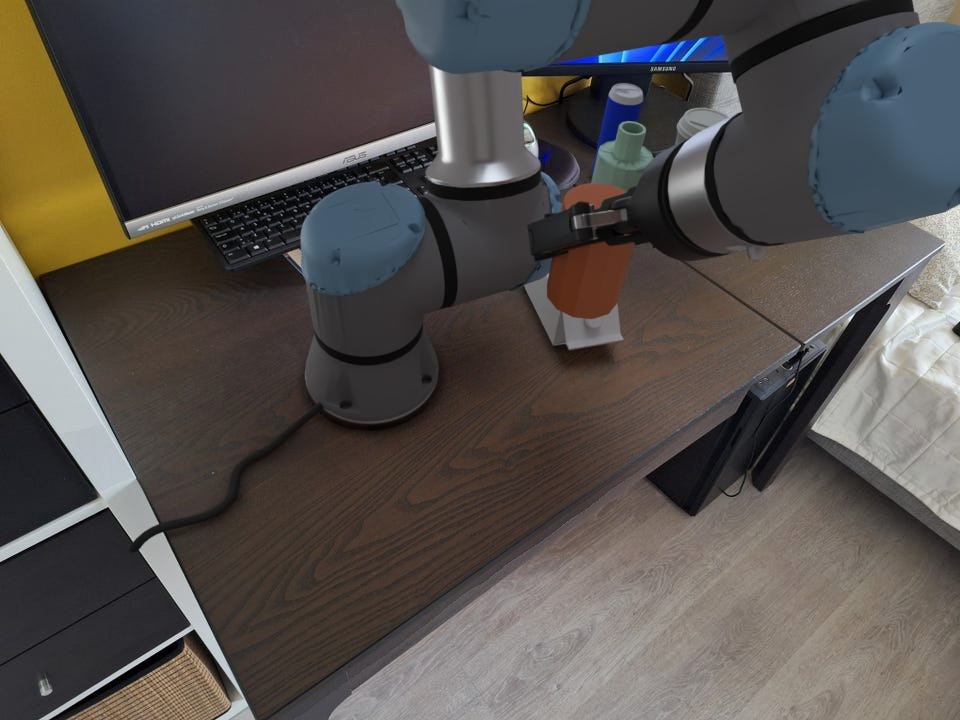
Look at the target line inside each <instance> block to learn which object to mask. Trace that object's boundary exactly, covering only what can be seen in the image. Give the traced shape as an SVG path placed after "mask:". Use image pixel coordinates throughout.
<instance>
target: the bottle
mask: <svg viewBox="0 0 960 720" xmlns="http://www.w3.org/2000/svg"><path fill="white" fill-rule="evenodd" d="M646 133H647V128H646V127H645V126H644V124H642V123H639V122H638V121H637V122H632V121H626V122H622V123H621V124H620V125H619V128H618V132H617V136H616V140H614V141H610V142H606V143H604V144H603V145H601V146H600V148H599V150H598V154H597V159H596V163H595V168H594V172H593V175H592V177H591V181H590V183H601V184H608V185H612V186H616V187H618V188H621V189H623V190H625V191H628V189H630V188H632V187H635V186H637V185H638V182H639V180H640V177H641V175H642V173H643V171H644V170H645V168H646V167H647V165H648V164H649V163H650V162H651V161H652V160H653V159H654V158H655V157H654V156H653V154H652V151H650V150H649V149H648V148H647V147H645V146H644V141H645V137H646Z"/></svg>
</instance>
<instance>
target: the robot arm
mask: <svg viewBox="0 0 960 720" xmlns="http://www.w3.org/2000/svg"><path fill="white" fill-rule="evenodd" d="M394 1H395V5H396V7H397V9H399V12H401V15H402V18H403V21H404V29H405V33H406V36H407V39H408V40H409V41H410V43H411V45H412V47H413V48H414V50H415V51H416V52H417V53H418V55H419V56H420V57H421V58H422V59H423V60H424V61H425V62H426V63H428V72H429V80H430V81H429V82H430V91H431V98H432V107H433V108H432V109H433V117H434V126H435V127H434V128H435V136H436V143H437V144H436V145H437V155H436V156H435V157H434V159H432V161H431V163H430V164H429V165H428V166H427V168H426V169H425V179H426V180H425V181H426V189H427V190H426V191H427V193H426V194H423V195H419V196H416V195H415V194H414V193H413V192H411V190H408V189H407V188H405V187H403V186H402V185H401V186H400V185H397V184H395V183H390V182H389V183H388V184H386V185H382V184H381V182H380V181H367V182H366V181H365V182H360V183H354V184H351V185H347V186H344V187H342V188H339V189H337V190H335V191H333V192H330V193H328V194H327V195H326V196H324V197H323V198H322V199H320V200H319V201H318V202H317V203H316V204H314V206H313V207H312V208H311V210H310V213H309V214H308V215H307V216H306V217H305V218H304V221H303V223H302V226H301V230H300V237H299V238H300V239H299V240H300V255H301V256H300V269H301V273H302V276H303V278H304V280H305V286H306V291H307V298H308V303H309V304H308V305H309V308H310V309H309V310H310V316H311V320H312V328H313V332H314V334H313V337H312V340H311V344H310V348H309V351H308V354H307V358H306V361H305V369H304V380H305V386H306V390H307V393H308V397H309V399H310V401H311V402H312V404H313V407H311V408H309V410H307V411H306V412H305V413H303V415H301V416H300V417H299V418H298V419H296V420H295V421H294V422H292V423H291V424H290V425H289V426H288V427H287V428H286V429H285V430H284V431H282V432H281V433H280V434H279V435H278V436H277V437H275V438H274V439H273V440H272V441H270V442H269V443H268V444H266V445H264V446H263V447H261V448H260V449H257V450H256V451H254V452H252V453H250V454H248V455H246V456H245V457H243V458H242V459H240V461H238V463H237V464H236V465H235V466H234V467H233V470H232V471H231V474H230V478H229V485H228V486H229V487H228V492H227V494H226V496H225V497H224V499H222V501H220V503H218V504H217V505H215V506H213V507H212V508H210V509H208V510H206V511H203V512H200V513H197V514H193V515H188V516H185V517H180V518H176V519H171V520H167V521H164V522H160V523H158V524H155V525H153V526H152V527H149V528H147V529H146V530H144V531H143V532H142V533H141V534H140V535H138V536H137V537H136V538H135V539H134V540H133V541H132V543H131V545H130V546H129V550H128V551H129V552H130V553H132V554H133V553H137V552H138V551H140V549H141V548H142V547H143V546H144V544H146V543H147V541H150V539H151V538H153V537H155V536H157V535H159V534H162V533H165V532H168V531H173V530H177V529H181V528H184V527H190V526H193V525H197V524H201V523H204V522H207V521H209V520H212V519H214V518H216V517H218V516H220V515H221V514H223V513H224V512H225V511H226V510H227V509H229V508H230V507H231V506H232V504H234V502H235V500H236V498H237V495H238V493H239V492H238V491H239V483H240V478H241V475H242V473H243V472H244V470H245V469H246V468H247V467H248V466H249V465H251V464H252V463H254V462H256V461H258V460H260V459H262V458H264V457H266V456H267V455H269V454H271V453H272V452H274V450H276V449H278V448H279V447H280V446H281V445H283V443H285V442H286V441H287V440H289V438H290V437H292V435H294V434H295V433H296V432H297V431H298V430H300V429H301V428H302V427H303V426H305V425H306V424H307V423H309V421H310V420H312V419H313V418H314V417H315V416H316V415H318V414H319V413H321V414H322V415H323V416H325V418H327V419H329V420H331V421H333V422H335V423H337V424H339V425H341V426H343V427H344V426H345V427H348V428H353V429H359V430H380V429H385V428H391V427H395V426H397V425H400V424H403V423H405V422H407V421H409V420H411V419H412V418H414V417H416V416H417V415H418V414H420V413H421V412H422V411H424V410H425V409H426V408H427V406H428V405H429V404H430V402H431V401H432V400H433V398H434V396H435V394H436V391H437V388H438V385H439V372H440V371H439V370H440V369H439V368H440V367H439V361H438V356H437V353H436V351H435V348H434V346H433V344H432V342H431V339H430V337H429V335H428V334H427V331H426V329H425V326H424V315H427V314H430V313H434V312H437V311H440V310H443V309H447V308H452V307H454V306H455V307H456V306H459V305H462V304H465V303H469V302H472V301H476V300H480V299H482V298H486V297H490V296H494V295H497V294H499V293H500V294H501V293H505V292H508V291H509V292H513V291H517V290H519V289H521V288H523V287H524V285H526V284H528V283H531V282H534V281H537V280H540V279H542V278H544V277H545V276H547V274H548V273H549V271H550V266H551V261H552V258H553V257H556V256H559V255H563V254H566V253H569V252H568V250H571V249H575V248H580V247H584V246H589V245H593V244H598V243H602V242H606V243H607V245H609V246H616V245H624V244H629V243H635V246H640V245H643V244H651V245H652V249H656V250H657V251H659V253H661V254H663V255H664V256H666V257H667V258H668V257H669V258H671V259H673V260H677V261H683V262H696V261H701V260H707V259H713V258H719V257H723V256H727V255H730V254H736V253H741V252H746V255H747V257H748V259H749V260H750V261H754V262H755V261H761V260H763V259H765V257H766V256H767V255H766V253H767V251H766V248H767V247H777V246H781V245H782V246H783V245H789V244H795V243H800V242H807V241H808V242H809V241H814V240H821V239H826V238H832V237H839V236H845V235H857V234H865V232H870V231H874V230H878V229H881V228H886V227H890V226H893V225H898V224H902V223H907V222H910V221H914V220H918V219H923V218H926V217H932V216H935V215H939V214H943V213H946V212H948V211H949V210H952V209H954V208H956V207H958V206H960V25H959V24H955V23H951V22H947V21H931V22H929V21H928V22H924V23H923V22H922V23H921V21H920V16H919V13H918V12H917V11H915V7H914V1H913V0H394ZM719 36H721V39H722V42H723V45H724V50H725V53H726V58H727V62H728V65H729V69H730V73H731V78H732V83H733V84H734V85H735V88H736V91H737V96H738V101H739V104H740V108H741V111H740V112H737V113H735V114H733V115H731V116H728V117H729V118H727V119H725V120H723V121H721V122H719V123H717V124H715V125H712V126H710V127H708V128H706V129H704V130H702V131H700V132H698V133H697V134H695V135H694V136H693V137H691V138H689V139H686V140H684V141H682V142H681V143H679V144H677V145H675V144H674V145H673V146H670V147H669V148H667V149H665V150H663V151H661V152H660V153H658V154H657V155H656V156H654V157H653V158H654V159H653V160H652V161H651V162H650V163H649V164H648V165H647V167H646V168H645V170H644V171H643V173H642V175H641V177H640V180H639V182H638V185H637V186H635V187H632V188H630V189H628V191H627V192H626V193H624V194H621V195H618V196H614V197H611V198H608V199H605V200H603V202H602V204H601V207H600V208H598V209H594V204H589V202H584V201H581V202H577V203H576V204H574V205H572V206H571V207H570V208H569V209H567V210H564V211H562V212H561V208H562V203H563V202H560V198H561V192H560V190H559V187H558V186H557V184H556V182H555V181H554V180H553V179H552V178H551V177H550V176H549V175H548V174H547V173H545V172H543V171H542V164H541V160H540V159H539V158H538V157H537V156H536V155H534V154H533V153H532V152H531V151H530V150H529V149H528V148H527V146H526V145H525V125H524V124H525V123H524V101H523V100H524V99H523V97H524V96H523V79H522V78H523V77H522V73H526V72H530V71H535V70H537V69H542V68H546V67H548V66H550V65H556V64H561V63H567V62H572V61H577V60H581V59H582V60H583V59H588V58H594V57H600V56H604V55H611V54H617V53H621V52H627V51H632V50H639V49H643V48H648V47H656V46H661V45H668V44H669V45H670V44H675V43H682V42H687V41H688V42H689V41H694V40H701V39H707V38H713V37H719ZM624 234H631V235H627V236H625V235H624ZM635 246H634V247H635Z"/></svg>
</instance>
